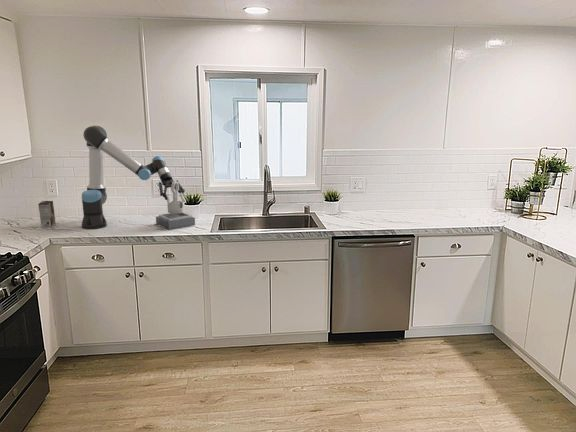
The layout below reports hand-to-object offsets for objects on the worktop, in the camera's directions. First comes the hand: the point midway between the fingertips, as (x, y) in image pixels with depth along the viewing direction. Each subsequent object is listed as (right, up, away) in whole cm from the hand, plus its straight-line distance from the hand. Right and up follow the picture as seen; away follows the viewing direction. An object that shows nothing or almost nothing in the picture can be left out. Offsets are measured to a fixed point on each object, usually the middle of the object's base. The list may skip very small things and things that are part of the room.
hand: (177, 202), depth 285 cm
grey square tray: (-2, -15, +6) cm, 16 cm away
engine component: (-2, -6, +4) cm, 8 cm away
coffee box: (-84, -16, -3) cm, 85 cm away
